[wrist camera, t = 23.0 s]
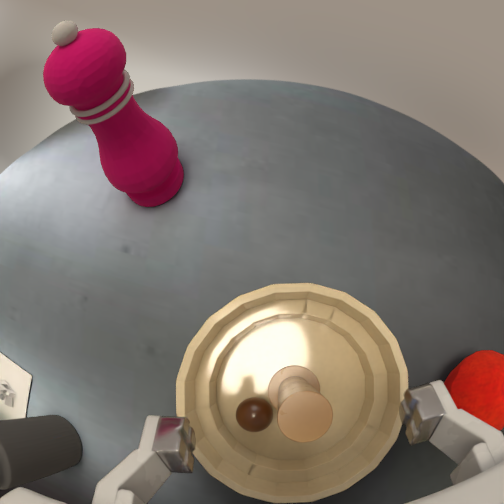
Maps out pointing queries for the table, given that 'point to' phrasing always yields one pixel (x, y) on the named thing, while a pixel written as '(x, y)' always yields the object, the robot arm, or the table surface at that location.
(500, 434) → the robot arm
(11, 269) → the table surface
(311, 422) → the muddler
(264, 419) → the hazelnut
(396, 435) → the bowl
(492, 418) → the apple
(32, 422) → the bottle
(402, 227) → the table surface
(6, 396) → the adhesive hook
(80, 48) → the pepper mill
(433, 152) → the table surface
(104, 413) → the table surface
